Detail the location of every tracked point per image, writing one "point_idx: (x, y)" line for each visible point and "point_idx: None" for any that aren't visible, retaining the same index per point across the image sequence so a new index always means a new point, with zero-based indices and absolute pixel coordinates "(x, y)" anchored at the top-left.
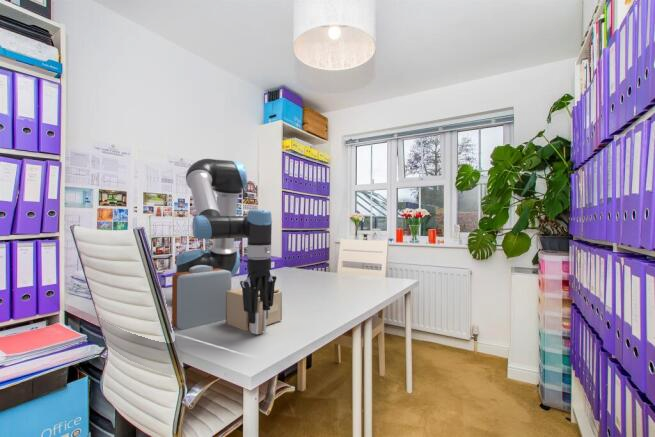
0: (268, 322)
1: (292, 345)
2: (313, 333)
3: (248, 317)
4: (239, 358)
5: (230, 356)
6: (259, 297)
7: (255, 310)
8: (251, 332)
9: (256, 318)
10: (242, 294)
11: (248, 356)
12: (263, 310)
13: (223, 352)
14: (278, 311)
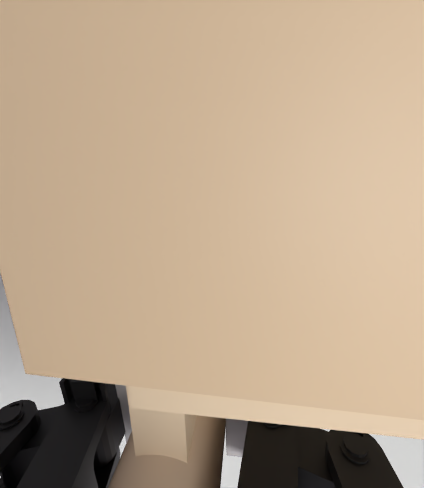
0: None
1: (237, 464)
2: (412, 468)
3: None
4: (31, 391)
5: (12, 357)
6: (375, 419)
7: (102, 472)
8: None
9: None
10: (17, 47)
11: (62, 403)
12: (230, 438)
13: (3, 311)
14: None
